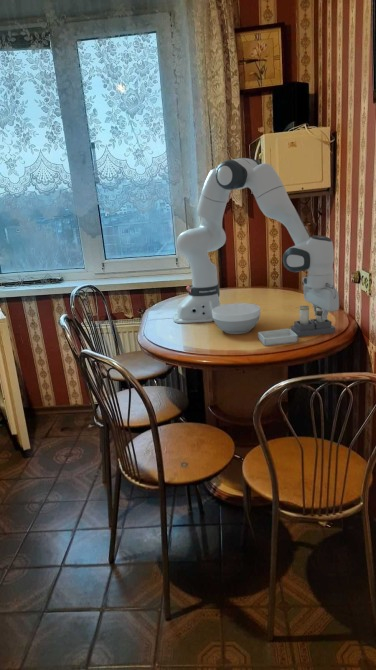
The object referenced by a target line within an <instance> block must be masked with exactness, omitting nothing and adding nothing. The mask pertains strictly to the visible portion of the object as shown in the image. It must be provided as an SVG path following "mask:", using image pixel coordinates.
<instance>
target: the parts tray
mask: <svg viewBox="0 0 376 670" xmlns="http://www.w3.org/2000/svg"><path fill="white" fill-rule="evenodd" d="M257 338H258V340H259V342H261V344H263V346H264V347H270V346H278V345H285V344H286V345H287V344H294V343H299V337H298V335H297V334H296V333H294V332H293V331H292V330H291V328H281V329H275V330H265V331H258V332H257Z"/></svg>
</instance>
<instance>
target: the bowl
mask: <svg viewBox="0 0 376 670" xmlns="http://www.w3.org/2000/svg"><path fill="white" fill-rule="evenodd" d="M212 314H213V318H214V321H213V322H214V324H215V325H217V327H218V328H219V329H220V330H222V332H224V333H226V334H229V335H242V334H247V333H249V332H250V331H251V330H252V329H253V328H255V326H256V325H257V324H258V322H259V321H260V318H261V317H260V316H261V307H260V305H257V304H254V303H251V302H250V303H249V302H235V303H234V302H232V303H226V304H220V306H217V307H215V308H214V309H213V310H212Z"/></svg>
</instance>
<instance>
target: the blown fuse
mask: <svg viewBox="0 0 376 670" xmlns="http://www.w3.org/2000/svg"><path fill="white" fill-rule="evenodd" d="M322 313H323V311H322V308H320V307H318V306H316V316H315V319H316V322H317V323H321V322H326V320H323V319H321V315H322Z"/></svg>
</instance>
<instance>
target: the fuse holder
mask: <svg viewBox="0 0 376 670" xmlns="http://www.w3.org/2000/svg"><path fill="white" fill-rule="evenodd" d="M332 323H333V322H332V321H331V320H330V319H328V318H327V320H326V322H321V323H317V322H316V318H312V319H311V318H310V319H309V324H304V325H300V320H296V321H293V325H291V326H290V329H291V330H292V331H293V332H294V333H296V334H297V335H298V338H300V337H309V336H310V337H312V336H318V335H320V336H321V335H328V334H335V333H336V327H335V326H333V325H332Z"/></svg>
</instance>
